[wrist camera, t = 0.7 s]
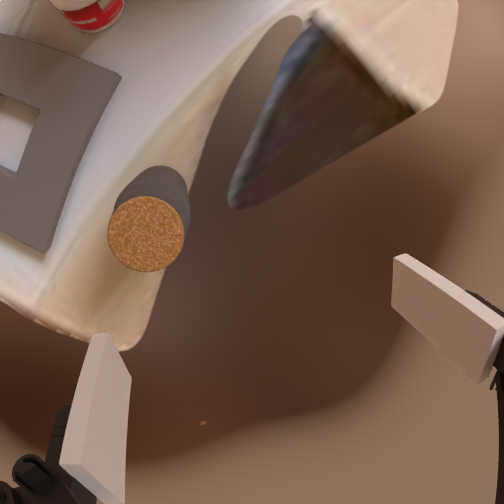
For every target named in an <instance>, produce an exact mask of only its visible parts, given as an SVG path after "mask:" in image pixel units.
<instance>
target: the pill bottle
mask: <svg viewBox="0 0 504 504" xmlns="http://www.w3.org/2000/svg"><path fill="white" fill-rule="evenodd" d="M50 2H51V3H52V5H53V6H54V7H55V8H56V9H57V10H58V11H59V12H60V13H61V14H62V15H63V16H64V17H65V18H66V19H67V20H68V21H69V22H70V23H71V24H72V25H73V26H74V27H75V28H76V29H77V30H79V31H81V32H85V33H95V32H100V31H102V30H105V29H107V28H108V27H110V26H111V25H113V24H114V23H115V22H116V21H117V20H118V19H119V17H120V16H121V14H122V12H123V10H124V6H125V0H50Z"/></svg>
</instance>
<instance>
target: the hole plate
mask: <svg viewBox="0 0 504 504" xmlns="http://www.w3.org/2000/svg"><path fill="white" fill-rule="evenodd" d="M121 78H122V77H121V76H120V75H119V74H118V73H115V72H113V71H110V70H108V69H105V68H103V67H100V66H98V65H95V64H93V63H90V62H88V61H85V60H82V59H80V58H77V57H74V56H72V55H69V54H66V53H63V52H60V51H58V50H55V49H52V48H49V47H46V46H43V45H40V44H37V43H33V42H30V41H27V40H24V39H20V38H17V37H13V36H10V35H6V34H3V33H0V93H1V94H3V95H6V96H8V97H11V98H13V99H16V100H18V101H21V102H23V103H25V104H28V105H30V106H33V107H35V108H37V109H40V110H41V111H40V113H39V115H38V118H37V120H36V122H35V125H34V127H33V129H32V132H31V134H30V137H29V140H28V142H27V145H26V148H25V150H24V153H23V156H22V159H21V162H20V164H19V167H18V171H17V173H15V172H13V171H11V170H9V169H7V168H5V167H3V166H1V165H0V231H2V232H4V233H6V234H8V235H9V236H11V237H13V238H15V239H17V240H19V241H21V242H23V243H25V244H27V245H28V246H30V247H32V248H34V249H36V250H38V251H40V252H42V253H45V252H46V251H47V250H48V249H49V248H50V246H51V243H52V239H53V236H54V233H55V229H56V226H57V223H58V220H59V217H60V214H61V211H62V208H63V205H64V202H65V200H66V197H67V194H68V191H69V189H70V186H71V183H72V181H73V178H74V176H75V173H76V171H77V168H78V166H79V163H80V161H81V159H82V156H83V154H84V152H85V149H86V147H87V145H88V143H89V141H90V138H91V136H92V134H93V132H94V130H95V128H96V126H97V124H98V122H99V120H100V117H101V115H102V114H103V112H104V110H105V108H106V106H107V104H108V102H109V100H110V98H111V96H112V94H113V93H114V91H115V89H116V87H117V85H118V84H119V82H120V80H121Z"/></svg>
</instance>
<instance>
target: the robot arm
mask: <svg viewBox="0 0 504 504" xmlns="http://www.w3.org/2000/svg"><path fill="white" fill-rule="evenodd" d="M393 262H394V263H393V285H392V302H391V306H392V307H393V308H394V309H395V310H396V311H397V312H398V313H400V314H401V315H402V316H403V317H404V318H405V319H406V320H407V321H408V322H410V323H411V324H412V325H413V326H414V327H415V328H416V329H417V330H418V331H420V332H421V333H422V334H423V335H424V336H425V337H426V338H427V339H428V340H429V341H430V342H431V343H433V344H434V345H435V346H436V347H437V348H438V349H439V350H440V351H441V352H442V353H443V354H444V355H445V356H446V357H447V358H448V359H450V360H451V361H452V362H453V363H454V364H455V365H456V366H457V367H458V368H459V369H460V370H461V371H462V372H463V373H464V374H465V375H466V376H467V377H468V378H469V379H470V380H471V381H472V382H473V383H474V384H475V385H478V384H480V383H481V382H482V381H484V380H485V379H486V378H488V377H489V374H490V372H491V370H492V367H493V366H494V367H495V368H496V369H497V372H496V374H495V376H494V379H493V381H492V383H491V386H490V390H492V389H493V387H494V385H495V383H496V389H495V390H497V400H498V418H499V462H498V480H497V491H496V501H495V504H504V312H502V311H501V310H499V309H498V308H497V307H495V306H494V305H491V303H489V302H488V301H485V299H483V298H482V297H481V296H479V295H478V294H475V293H473V292H470V291H467V290H466V291H464V290H462V289H461V288H459V287H458V286H456V285H455V284H453V283H452V282H450V281H449V280H447V279H446V278H444V277H443V276H441V275H439V274H438V273H436V272H435V271H433V270H432V269H430V268H429V267H427V266H425V265H424V264H422V263H420V262H419V261H417V260H416V259H414V258H413V257H411V256H409V255H408V254H402V255H399V256H396V257H394V261H393ZM130 388H131V376H130V374H129V372H128V370H127V369H126V366H125V364H124V363H123V361H122V359H121V357H120V355H119V353H118V351H117V349H116V347H115V344H114V342H113V340H112V338H111V336H110V334H109V332H108V331H107V332H102V333H97V334H93V335H92V338H91V341H90V344H89V347H88V351H87V354H86V357H85V360H84V363H83V367H82V370H81V374H80V377H79V381H78V384H77V388H76V391H75V395H74V399H73V403H72V405H64V406H63V407H62V408H61V410H60V411H59V412H58V414H57V415H56V419H55V423H54V429H53V430H52V434H51V436H52V437H51V438H50V442H49V446H48V451H47V455H46V459H45V462H44V461H43V460H42V459H41V458H40V457H39V456H37V455H34V454H27V455H25V456H22V457H21V458H20V459H19V460H18V461H16V463H15V465H14V467H13V470H12V477H13V481H15V482H16V483H17V484H18V485H19V486H20V487H17V488H12V487H10V486H9V485H8V484H7V483H6V482H3V481H0V504H96V498H98V499H99V500H100V501H102V502H103V503H104V504H125V460H126V459H125V458H126V438H127V422H128V410H129V399H130Z"/></svg>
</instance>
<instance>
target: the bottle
mask: <svg viewBox="0 0 504 504" xmlns="http://www.w3.org/2000/svg"><path fill="white" fill-rule="evenodd" d="M190 219H191V215H190V204H189V197H188V191H187V187H186V184H185V181H184V179H183V178H182V176H181V175H180V174H179V173H178V172H177V171H175V170H174V169H172V168H170V167H166V166H154V167H151V168H148V169H146V170H145V171H143V172H142V173H141V174H139V175H138V176H137V177H136V178H135V179H134V180H133V181H132V182H131V183H129V184H128V185H127V186H126V188H125V189H124V190H123V191H122V192H121V193H120V195H119V197H118V198H117V201H116V203H115V206H114V211H113V213H112V217H111V219H110V221H109V225H108V242H109V246H110V248H111V250H112V252H113V254H114V255H115V257H116V258H117V259H118V260H119V261H120V262H121V263H122V264H124V265H125V266H127V267H128V268H130V269H133V270H136V271H140V272H153V271H157V270H160V269H162V268H165V267H166V266H168V265H169V264H171V263H172V262H173V261H174V260H175V259H176V257H177V256H178V255H179V253H180V251H181V249H182V246H183V242H184V238H185V235H186V233H187V231H188V228H189V224H190Z"/></svg>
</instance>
